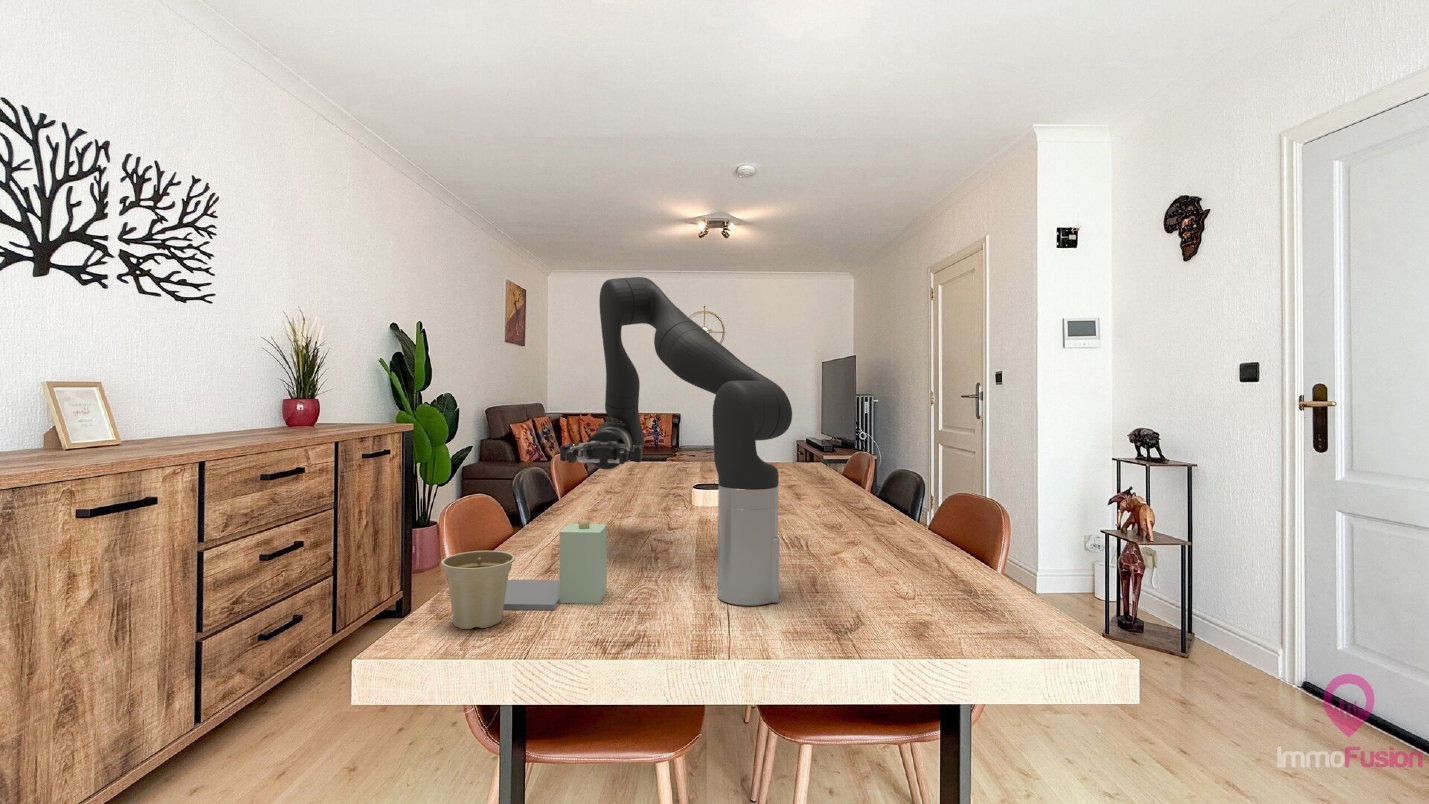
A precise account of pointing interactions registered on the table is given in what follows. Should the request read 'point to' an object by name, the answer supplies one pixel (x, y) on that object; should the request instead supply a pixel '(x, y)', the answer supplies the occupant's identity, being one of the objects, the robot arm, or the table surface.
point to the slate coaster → (531, 595)
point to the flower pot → (477, 586)
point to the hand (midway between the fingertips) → (596, 457)
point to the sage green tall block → (583, 563)
